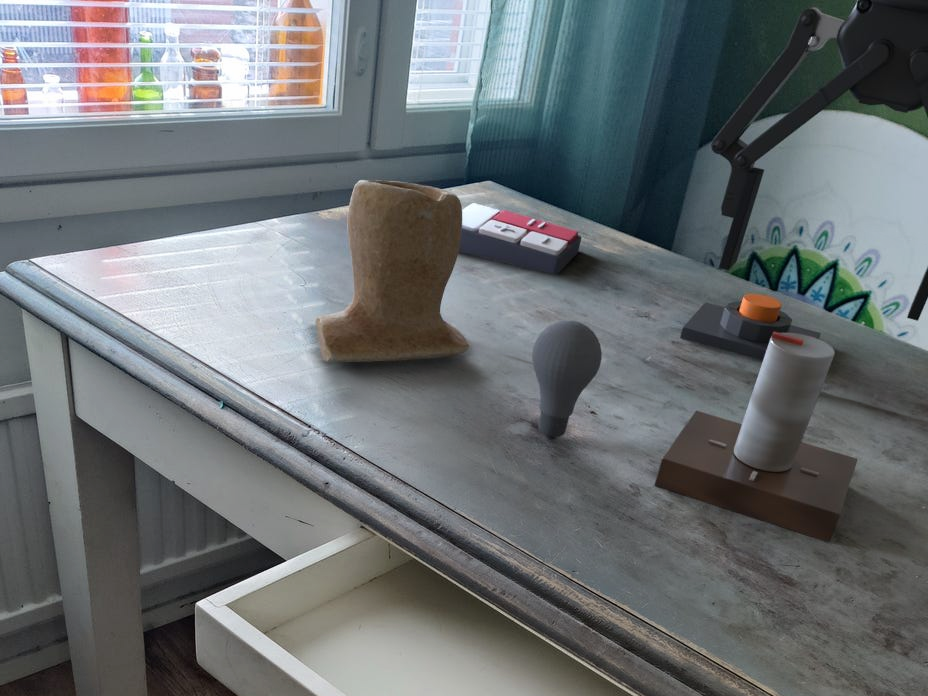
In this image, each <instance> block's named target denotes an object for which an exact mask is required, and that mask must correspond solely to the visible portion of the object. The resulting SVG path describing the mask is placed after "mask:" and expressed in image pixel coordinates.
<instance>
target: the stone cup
mask: <svg viewBox="0 0 928 696" xmlns="http://www.w3.org/2000/svg"><path fill="white" fill-rule="evenodd" d="M462 210H463V207H462V202H461V200H460V199H459V197H458V195H456V194H455V193H454V192H449V191H447V190H445V189H442V188H438V187H434V186H431V185H430V186H429V185H423V184H418V183H411V182H406V181H405V182H404V181H397V180H395V181H394V180H382V179H381V180H380V179H360V180H358V181H357V182H356V183H355V185H354V187H353V190H352V193H351V196H350V199H349V205H348V209H347V215H346V228H347V237H348V244H349V245H348V246H349V253H350V261H351V266H352V278H353V296H352V299H351V302H350V303H349V304H348V305H347V307H346V308H344V309H343V310H342V311H338V312H335V313H329V314H324V315H319V316H317V317H316V319H315V328H316V330H317V341H318V342H319V351H320V355H321V357H322V360H323V361H324V362H326V363H327V362H328V363H345V362H346V363H353V362H354V363H355V362H359V363H361V362H362V363H363V362H365V363H366V362H367V363H368V362H369V363H370V362H392V361H393V362H395V361H407V360H408V361H409V360H425V359H436V358H443V357H444V358H445V357H453V356H459V355H462V354H465V353H466V352H468V350H469V346H470V345H469V343H468V341H467V339H466V337H465V335H463V333H461V332H460V331H459V329H457V328H455V327H454V326H453V325H452V324H451V323H449V322H447V321H446V320H444V319H443V317H442V315H441V305H442V302H443V301H442V300H443V296H444V294H445V291H446V287H447V284H448V282H449V280H450V279H451V276H452V274H453V271H454V268H455V265H456V262H457V260H458V256H459V253H460V252H459V248H460V241H461V231H462Z"/></svg>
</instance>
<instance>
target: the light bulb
mask: <svg viewBox="0 0 928 696" xmlns="http://www.w3.org/2000/svg"><path fill="white" fill-rule="evenodd" d="M531 354H532V355H531V356H532V357H531V359H532V367H533V371H534V373H535V375H536V379H537V383H538V386H539V404H538V407H539V411H540V413H539V419H538V420H539V421H538V430H539V432H540V433H541V434H542V435H543V436H545V438H547V439H549V440H554V439H555V440H556V438H559V437H563V435H564V434H565V433H566V430H567V427H568V424H569V419H570V417H571V416H572V415H573V413H574V409H575V405H576V403H577V401H578V399H579V397H580V395H581V394H582V392H583V391H584V390H585V389H586V388H587V387H588V386H589V384H590V383H591V382H592V381H593V379H594V378H595V377H596V375H597V374H598V372H599V369H600V367H601V362H602V358H603V357H602V355H603V353H602V348H601V343H600V340H599V338H598V337H597V334H596V333H595V332H594V331H593V329H591V328H590V327H589V326H588V325H586V324H584V323H583V322H580V321H577V320H571V319H565V320H559V321H556V322H554V323H551V324H550V325H548V326H547V327H546V328H544V329H543V330H542V331H541V332H540V333H539V335H538V337H537V338H536V340H535V342H534V345H533V346H532V353H531Z"/></svg>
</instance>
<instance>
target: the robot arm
mask: <svg viewBox="0 0 928 696" xmlns="http://www.w3.org/2000/svg"><path fill="white" fill-rule="evenodd" d="M795 22H796V23H795V25H794V28H793V29H792V33H791V34H790V37H789V40H788V42H787V45H786V46H785V47H784V49H783V51H782V52H781V53H780V54H779V56H778V57H777V58H776V59H775V61H774V62H773V63H772V64H771V66H770V67H769V68H768V69H767V71H766V72H765V73H764V74H763V76H762V77H761V78H760V79H759V81H758V82H757V83H756V84H755V86H754V87H753V88H752V89H751V90H750V92H749V93H748V94H747V96H745V98H744V99H743V101H742V102H741V103H740V104H739V106H738V107H737V109H735V111H734V112H733V114H732V115H731V116H730V117H729V119H727V121H726V122H725V123H724V125H723V126H722V127H721V129H720V130H719V131H718V132H717V134H716V135H715V136H714V138H713V139H712V141H711V144H710V147H711V150H712V152H713V153H714V154H716V155H720V156H721V157H722V158H724V159H725V160H727V161H728V163H729V164H730V169H731V170H730V175H729V178H728V182H727V185H726V189H725V192H724V196H723V198H722V202H721V206H720V211H721V216H724V217H727V218H731V219H732V220H731V221H732V222H731V225H730V228H729V231H728V235H727V238H726V242H725V245H724V249H723V251H722V255H721V259H720V261H719V265H718V269H721V270H726V271H730V269H732V267H733V266H734V265H736V263H737V261H738V258H739V254H740V252H741V248H742V245H743V243H744V240H745V239H744V238H745V235H746V232H747V228H748V226H749V223H750V219H751V215H752V213H753V208H754V205H755V202H756V199H757V195H758V193H759V189H760V187H761V182H762V179H763V176H764V172H765V169H763V168H760V167H755V163H756V162H757V161H758V160H760V159H761V158H762V157H764V156H765V155H766V154H768V153H769V152H770V151H771V150H772V149H774V148H775V147H776V146H778V145H779V144H780V143H782V142H783V141H785V140H786V139H787V138H788V137H789V136H791V135H792V134H794V133H795V132H796V131H797V130H798V129H800V128H801V127H803V126H804V125H805V124H807V123H808V122H809V121H810V120H812V119H813V118H814V117H815V116H817V115H818V114H819V113H821V112H822V111H823V110H825V109H826V108H827V107H828V106H829V105H831V104H832V103H834V102H835V101H837V100H838V99H839V98H841V96H843V95H844V94H845V93H846V92H848V91H849V92H850V94H851V95H852V97H853V98H854V99H855V100H856V101H858V104H863V105H866V106H878V105H883V106H886V107H888V108H889V109H892V110H893V111H896V112H900V113H905V114H908V112H914V111H917V110H919V109H920V110H921V109H922V108H924V111H925V115H926V118H928V0H856V2H855V4H854V7H853V9H852V11H851V13H850V14H849V15H848V16H847V18H846V19H845V20H844V19H841V18H838V17H835V16H833V15H829V14H827V13H824V12H823V11H822V9H821V8H819V7H817V6H813V7H810V8H806V9H804V10H802V12H801V13H800V14H799V15H798V18H797V20H796V21H795ZM830 39H834V40H835V39H836V45H837V49H838V52H839V56H840V60H841V63H842V68H843V69H842V70H841V71H840V72H838V73H837V74H836V75H834V76H833V77H832V78H830V79H829V80H828V81H826V83H824V84H823V85H821V86H820V87H819V88H818V89H817V90H816V91H814V92H813V93H812V94H810V96H808V97H806V98H805V99H804V100H803V101H801V103H799V104H798V105H796V106H795V107H794V108H792V110H790V111H789V112H787V114H785V115H784V116H783V117H782V118H780V119H779V120H778V121H777V122H775V123H774V124H773V125H771V126H770V127H769V128H767V129H766V130H765V131H764V132H762V133H761V134H759V136H757V137H755V139H753V140H752V141H751V142H750V143H748V144H747V143H746V142H744V141H743V140H742V139H741V138H742V137H743V135H744V134H745V133H746V131H747V130H748V129H749V128H750V127H751V125H752V124H753V123H754V122H755V120H756V119H757V118H758V117H759V115H760V114H761V113H762V112H763V110H764V109H765V108H766V107H767V105H768V104H769V103H770V102H771V100H772V99H773V98H774V97H775V96H776V94H777V93H778V92H779V91H780V90H781V88H782V87H783V86H784V85H785V83H786V82H787V81H788V80H789V78H791V76H792V75H793V74H794V72H795V71H796V70H797V69H798V67H799V66H800V65H801V63H802V62H803V61H804V59H806V57H807V55H808V53H809V52H816V51H818V50H820V49H822V48H823V47H824V46H825V44H826V42H827V41H829V40H830ZM927 301H928V266H927V267H926V269H925V271H924V274H923V276H922V279H921V281H920V283H919V286H918V288H917V290H916V293H915V295H914V297H913V300H912V302H911V305H910V307H909V310H908V313H907V316H906V318H907V319H909V320H913V321H917V322H918V321H919V320H920V317H921V316H922V315H921V314H922V312H923V311H924V307H925V306H926V303H927Z"/></svg>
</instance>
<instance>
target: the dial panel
mask: <svg viewBox="0 0 928 696" xmlns="http://www.w3.org/2000/svg"><path fill="white" fill-rule="evenodd" d="M741 426H742V423H740V422H736V421H733V420H729V419H726V418H722V417H719V416H716V415H712V414H709V413H706V412H703V411H699V410H695V411H694V412H693V414H692V415H691V417H690V418H689V419H688V421H687V422H686V424H685V425H684V427H683V428H682V429H681V431H680V432H679V433H678V435H677V437H676V438H675V439H674V441H673V442H672V444H671V445H670V447H669V448H668V450H666V452H665V454H664V455H663V456H662V458H661V460H660V461H661V462H660V463H659V468H658V472H657V475H656V477H655V478H656V479H655V481H654V486H655V487H658V488H661V489H664V490H667V491H670V492H674V493H676V494H678V495H679V494H680V495H682V496H685V497H688V498H690V499H691V498H692V499H693V500H694V499H695V500H697V501H701V502H704V503H706V504H710V505H714V506H717V507H718V508H722V509H726V510H728V511H732V512H734V513H737V514H740V515H744V516H747V517H751V518H753V519H756V520H758V521H763V522H766V523H769V524H772V525H775V526H778V527H782V528H784V529H787V530H790V531H793V532H797V533H798V534H803V535H806V536H809V537H812V538H814V539H817V540H820V541H824V542H827V543H829V542H830V539H831V538H832V535H833V532H834V530H835V528H836V525H837V523H838V521H839V518H840V516H841V513H842V510H843V506H844V505H845V501H846V497H847V494H848V491H849V488H850V485H851V482H852V478H853V476H854V473H855V469H856V466H857V464H858V463H857V462H858V458H856V457H853V456H849V455H847V454H843V453H840V452H836V451H833V450H829V449H827V448H824V447H819V446H817V445H813V444H810V443H806V442H804V441H802V442H801V445H800V447H799V450H798V453H797V455H796V458H795V461H794V463H793V466H792V467H791V468H790V469H789V470H786V471H782V472H770V471H764V470H760V469H756V468H753V467H751V466H749V465H747V464H745V463H743V462H742V461H740V460H739V459H738V458H737V457H736V456H735V454H734V447H735V444H736V441H737V438H738V435H739V432H740V429H741Z"/></svg>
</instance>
